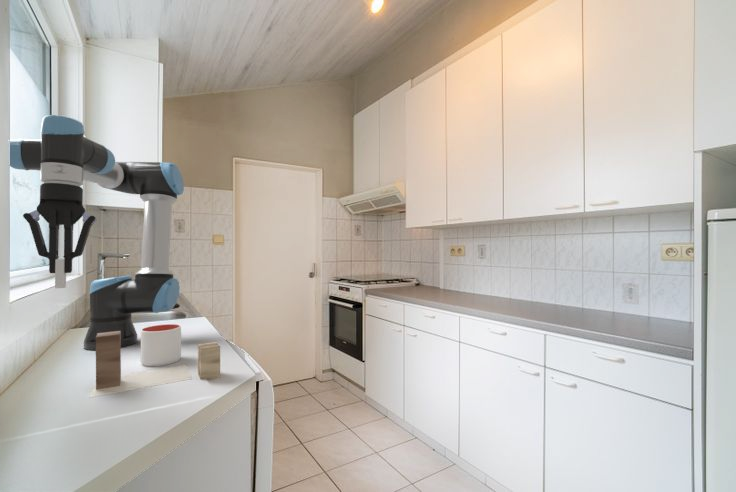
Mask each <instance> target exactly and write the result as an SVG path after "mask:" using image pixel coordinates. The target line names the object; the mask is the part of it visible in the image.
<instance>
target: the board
mask: <svg viewBox="0 0 736 492" xmlns="http://www.w3.org/2000/svg"><path fill="white" fill-rule="evenodd" d="M189 371H190V370H189V368H188V366H187V364H183V365H177V366H171V367H165V368H160V369H151V370H148V371H147V370H146V371H141V372H134V373H128V374H121V383H120V386H118V387H112V388H106V389H101V390H96V379H95V381H94V384H93V387H92V390H91V391H90V392H91V393H90V396H89V398H94V397H95V398H96V397H101V396H106V395H111V394H116V393H122V392H128V391H133V390H139V389H145V388H149V387H151V388H152V387H156V386H160V385H167V384H172V383H177V382H182V381H188V380H193V378H192V375H191V374H190V372H189Z"/></svg>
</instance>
